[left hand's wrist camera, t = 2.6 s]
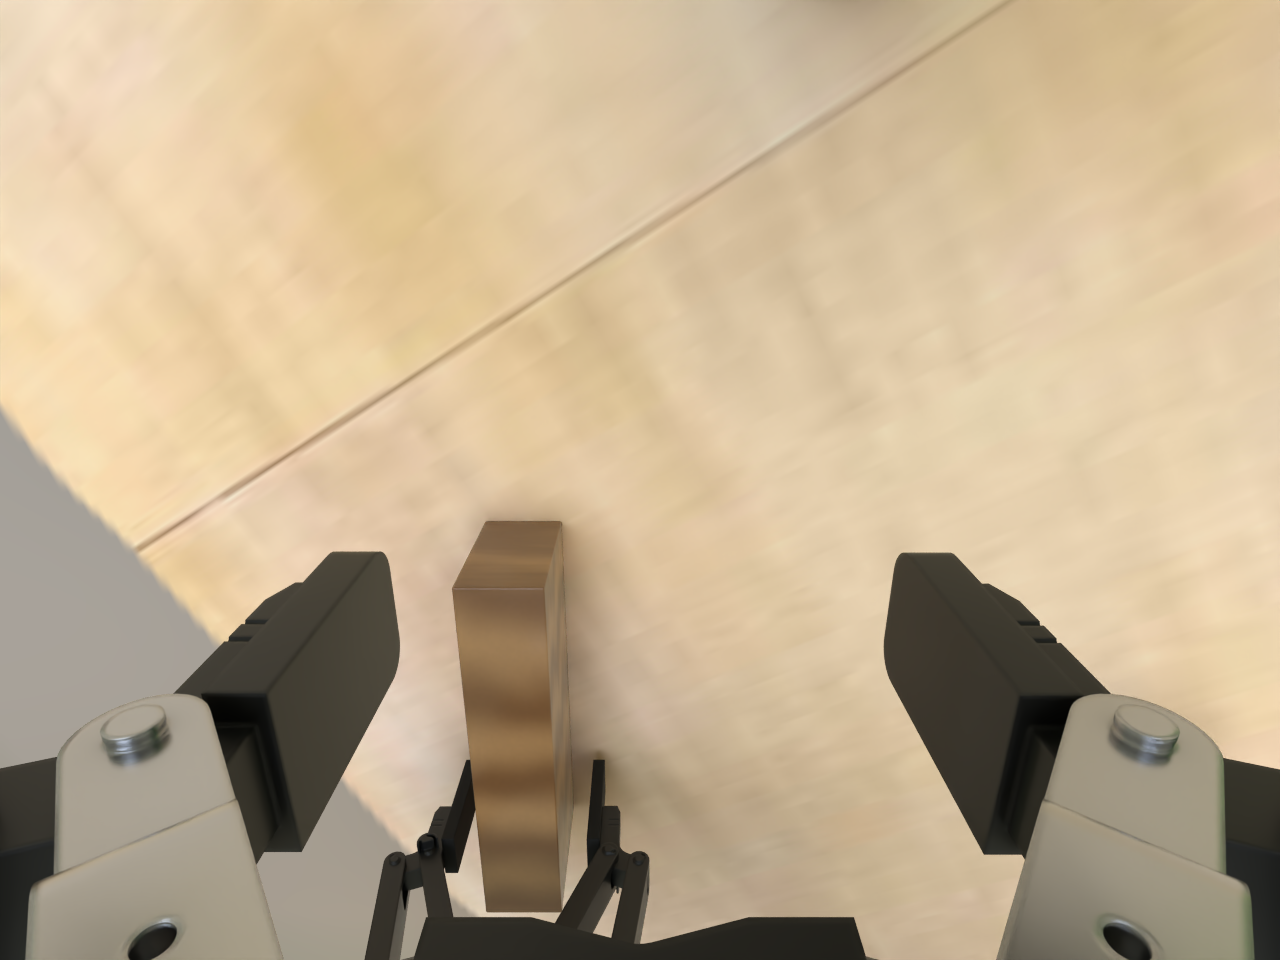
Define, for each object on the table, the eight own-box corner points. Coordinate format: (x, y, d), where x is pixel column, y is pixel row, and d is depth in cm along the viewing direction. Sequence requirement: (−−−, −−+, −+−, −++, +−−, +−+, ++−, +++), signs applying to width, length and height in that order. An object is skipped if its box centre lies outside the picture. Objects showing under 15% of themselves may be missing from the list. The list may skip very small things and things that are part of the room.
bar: (485, 521, 43) (451, 587, 35) (561, 521, 43) (544, 587, 35) (509, 807, 51) (486, 913, 43) (573, 807, 51) (561, 913, 43)
